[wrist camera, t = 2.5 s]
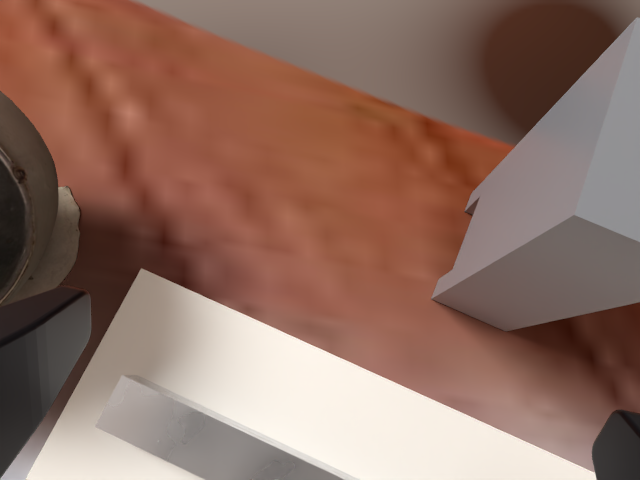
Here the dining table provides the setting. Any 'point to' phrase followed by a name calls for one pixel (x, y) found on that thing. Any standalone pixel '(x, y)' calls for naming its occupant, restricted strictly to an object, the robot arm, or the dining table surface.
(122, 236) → the dining table surface
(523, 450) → the mounting board
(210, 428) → the metal rail
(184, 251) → the dining table surface
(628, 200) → the module
